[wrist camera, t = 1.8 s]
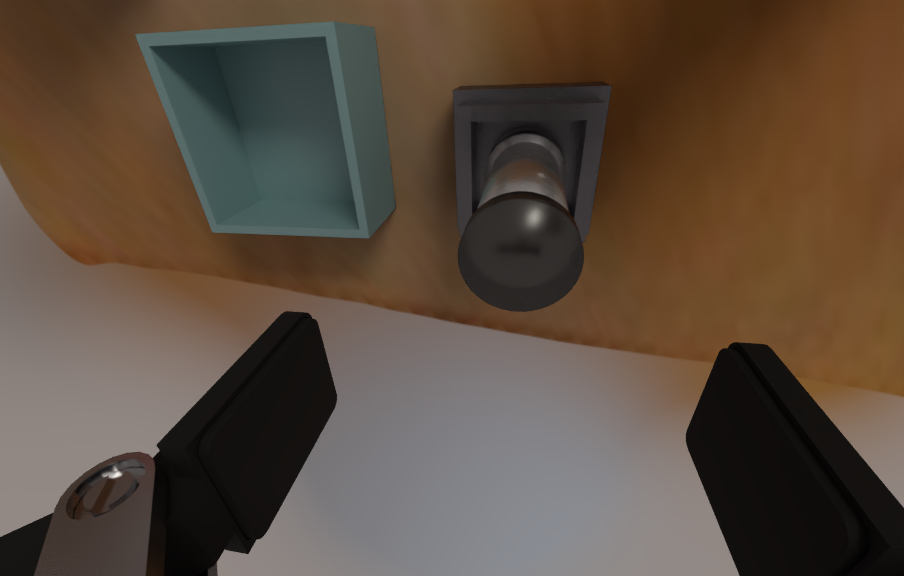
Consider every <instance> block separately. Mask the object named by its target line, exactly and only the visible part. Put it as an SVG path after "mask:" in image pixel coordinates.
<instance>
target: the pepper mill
mask: <svg viewBox="0 0 904 576" xmlns="http://www.w3.org/2000/svg"><path fill="white" fill-rule="evenodd" d="M483 178H484V186H485V188H484V191H483V194H482V197H481V200H480V203H479V206H478V209H477V210H476V211H475V212H474V213H473V215H472V216H471V217H470V219H469V221H468V223H467V225H466V227H465V230H464V232H463V235H462V238H461V240H460V243H459V249H458V264H459V268H460V272H461V274H462V277H463V279H464V281H465V282H466V284H467V286H468V287H469V288H470V289H471V291H472V292H473V293H474V294H475V295H477V296H478V297H479V298H480V299H482V300H483V301H485V302H486V303H488V304H490V305H492V306H495V307H497V308H500V309H504V310H508V311H522V312H524V311H533V310H538V309H541V308H544V307H547V306H549V305H551V304H553V303H555V302H557V301H558V300H560V299H561V298H563V297H564V296H565V295H566V294H567V293H568V292H569V291H570V290H571V289H572V288H573V286H574V285H575V284H576V282H577V280H578V278H579V276H580V274H581V271H582V267H583V261H584V251H583V245H582V241H581V237H580V233H579V229H578V227H577V224H576V222H575V220H574V219H573V217H572V215H571V214H570V213H569V211H568V206H567V202H566V197H565V193H564V187H565V184H566V179H567V168H566V163H565V159H564V156H563V153H562V150H561V147H560V146H559V144H558V142H557V141H556V140H555V139H554V138H553V137H552V136H551V135H550V134H549V133H547V132H545V131H544V130H541V129H538V128H534V127H522V128H517V129H514V130H512V131H510V132H508V133H506V134H505V135H503V136H502V137H501V138H500V139H499V140H498V141H497V142H496V143H495V145H494V146H493V148H492V150H491V152H490V155H489V157H488V159H487V162H486V165H485V169H484V176H483Z"/></svg>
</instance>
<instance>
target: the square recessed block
mask: <svg viewBox="0 0 904 576" xmlns="http://www.w3.org/2000/svg"><path fill="white" fill-rule="evenodd" d="M611 87H612V86H611V85H609V84H607V83H605V82H583V83H550V84H518V85H486V86H460V87H458V88H456V89H454V90H453V107H454V137H455V166H456V196H457V225H458V231H460V237H462V235H463V232H464V230H465V227H466V225H467V223H468V221H469V219H470V217H471V216H472V215H473V213H474V212H475V211H476V210H477V209H478V206H479V203H480V200H481V197H482V194H483V191H484V188H485V186H484V178H483V176H484V169H485V165H486V162H487V159H488V157H489V155H490V152H491V150H492V148H493V146H494V145H495V143H496V142H497V141H498V140H499V139H500V138H501V137H502V136H503V135H505V134H506V133H508V132H510V131H512V130H514V129H517V128H522V127H534V128H538V129H541V130H544V131H545V132H547V133H549V134H550V135H551V136H552V137H553V138H554V139H555V140H556V141H557V142H558V144H559V146H560V147H561V150H562V153H563V156H564V159H565V163H566V168H567V179H566V184H565V187H564V193H565V197H566V202H567V206H568V211H569V213H570V214H571V215H572V217H573V219H574V220H575V222H576V224H577V227H578V229H579V233H580V237H581V241H582V242H585V235H588V234H589V227H590V221H591V215H592V208H593V202H594V195H595V189H596V183H597V176H598V170H599V164H600V157H601V151H602V144H603V138H604V132H605V125H606V119H607V113H608V106H609V100H610V94H611Z"/></svg>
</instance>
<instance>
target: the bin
mask: <svg viewBox="0 0 904 576" xmlns="http://www.w3.org/2000/svg"><path fill="white" fill-rule="evenodd" d="M135 35H136V38H137V41H138V43H139V46H140V48H141V51H142V53H143V56H144V58H145V61H146V64H147V66H148V69H149V71H150V74H151V76H152V79H153V81H154V84H155V87H156V89H157V92H158V94H159V97H160V99H161V102H162V105H163V107H164V110H165V112H166V115H167V117H168V120H169V122H170V125H171V128H172V130H173V133H174V135H175V138H176V140H177V143H178V145H179V148H180V151H181V153H182V156H183V158H184V161H185V163H186V166H187V168H188V171H189V174H190V176H191V179H192V181H193V184H194V186H195V189H196V191H197V194H198V197H199V199H200V202H201V204H202V207H203V209H204V212H205V215H206V217H207V220H208V222H209V225H210V227H211V230H212V232H216V233H242V234H268V235H294V236H320V237H346V238H370V237H371V236H372V235H373V234H374V232H375V231H376V230H377V229H378V228H379V227H380V226H381V224H382V223H383V222H384V221H385V220H386V219H387V217H388V216H389V215H390V214H391V213H392V212H393V211H394V209H395V208H396V204H395V196H394V187H393V179H392V171H391V162H390V154H389V145H388V137H387V129H386V120H385V112H384V104H383V95H382V87H381V78H380V70H379V62H378V53H377V45H376V37H375V28H374V27H369V26H362V25H355V24H348V23H340V22H319V23H303V24H288V25H272V26H256V27H240V28H225V29H209V30H193V31H177V32H162V33H146V34H135Z"/></svg>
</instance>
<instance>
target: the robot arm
mask: <svg viewBox="0 0 904 576" xmlns="http://www.w3.org/2000/svg"><path fill="white" fill-rule="evenodd" d="M336 402H337V393H336V390H335V386H334V382H333V378H332V375H331V371H330V367H329V363H328V360H327V356H326V352H325V348H324V344H323V341H322V337H321V333H320V330H319V326H318V323H317V321H316V320H315V319H312V317H311V315H310V314H309V313H304V312H290V311H289V312H288V311H287V312H284V313H282V314H281V315H280V316H279V317H278V318H277V319H276V320H275V321H274V322H273V323H272V324H271V326H270V327H269V328H268V329H267V330H266V331H265V332H264V333H263V334H262V335H261V336H260V337H259V338H258V339H257V340H256V341H255V342H254V343H253V344H252V345H251V347H250V348H248V350H247V351H246V352H245V353H244V354H243V355H242V356H241V357H240V358H239V359H238V360H237V361H236V362H235V363H234V364H233V366H231V367H230V368H229V369H228V370H227V372H226V373H225V374H224V375H223V376H222V377H221V378H220V379H219V380H218V381H217V382H216V383H215V384H214V385H213V386H212V387H211V388H210V389H209V390H208V391H207V393H206V394H205V395H204V396H203V397H202V398H201V399H200V400H199V401H198V402H197V403H196V404H195V405H194V406H193V407H192V408H191V409H190V410H189V411H188V412H187V413H186V415H185V416H184V417H183V418H182V419H181V420H180V421H179V422H178V423H177V424H176V425H175V426H174V427H173V428H172V429H171V430H170V431H169V432H168V433H167V435H165V436H164V438H163V439H162V440H161V441H160V442H159V443H158V444H157V447H158V448H159V450H160V451H159V452H158V453H157V454H156V455H155V457H153V458H152V457H151V456H150V455H148V454H145V453H141V452H132V453H125V454H122V455H119V456H115V457H112V458H110V459H108V460H106V461H104V462H102V463H99V464H98V465H96V466H95V467H93V468H91V469H90V470H88V471H87V472H85V473H84V474H83V475H82V476H81V477H79V478H78V479H77V480H76V481H75V482H74V483H72V484H71V485H70V486H69V488H68V489H67V490H66V491H65V493H64V494H63V495H62V496H61V497H60V499H59V502H58V504H57V505H56V507H55V509H54V513H52V514H50V515H47V516H45V517H43V518H41V519H39V520H36V521H34V522H32V523H30V524H28V525H26V526H23V527H21V528H19V529H17V530H15V531H12V532H10V533H8V534H6V535H4V536H2V537H0V576H217V561H218V559H219V558H220V556H221V554H222V553H223V551H224V549H225V550H229V551H234V552H240V553H246V554H249V552H250V550H251V548H252V546H253V545H254V543H255V541H256V539H260V538H262V537H263V536H264V535H265V533H266V532H267V531H268V529H269V527H270V525H271V523H272V521H273V520H274V518H275V516H276V514H277V512H278V511H279V509H280V507H281V505H282V503H283V501H284V499H285V498H286V496H287V494H288V492H289V491H290V489H291V487H292V485H293V483H294V481H295V480H296V478H297V476H298V474H299V472H300V470H301V469H302V467H303V465H304V463H305V461H306V460H307V458H308V456H309V454H310V452H311V450H312V449H313V447H314V445H315V443H316V441H317V439H318V438H319V436H320V434H321V432H322V430H323V429H324V427H325V425H326V423H327V421H328V419H329V418H330V416H331V414H332V412H333V410H334V408H335V405H336ZM686 443H687V447H688V450H689V453H690V455H691V457H692V460H693V462H694V465H695V467H696V470H697V472H698V475H699V477H700V479H701V482H702V484H703V486H704V489H705V491H706V494H707V496H708V499H709V502H710V504H711V506H712V509H713V511H714V514H715V516H716V519H717V521H718V524H719V526H720V529H721V531H722V534H723V536H724V538H725V541H726V543H727V546H728V548H729V551H730V553H731V555H732V558H733V560H734V563H735V565H736V568H737V570H738V572H739V575H740V576H904V508H903V506H902V505H901V504H900V503H899V502H898V500H897V499H896V498H895V497H894V496H893V494H892V493H891V492H890V491H889V490H888V488H887V487H886V486H885V485H884V484H883V482H882V481H881V480H880V479H879V478H878V476H877V475H876V474H875V473H874V472H873V470H872V469H871V468H870V467H869V466H868V464H867V463H866V462H865V461H864V460H863V458H862V457H861V456H860V455H859V454H858V453H857V451H856V450H855V449H854V448H853V446H852V445H851V444H850V443H849V442H848V440H847V439H846V438H845V437H844V436H843V434H842V433H841V432H840V431H839V430H838V428H837V427H836V426H835V425H834V424H833V422H832V421H831V420H830V419H829V418H828V416H827V415H826V414H825V413H824V411H823V410H822V409H821V408H820V407H819V406H818V404H817V403H816V402H815V401H814V400H813V398H812V397H811V396H810V395H809V393H808V392H807V391H806V390H805V389H804V387H803V386H802V385H801V384H800V383H799V382H798V380H797V379H796V378H795V377H794V375H793V374H792V373H791V372H790V371H789V369H788V368H787V367H786V366H785V365H784V363H783V362H782V361H781V360H780V359H779V357H778V356H777V355H776V354H775V353H774V351H773V350H772V349H771V348H770V347H769V346H767V345H764V344H753V343H738V342H735V343H732V344H730V345H729V347H728V348H724V349H722V350H720V352H719V353H718V356H717V358H716V361H715V363H714V366H713V369H712V370H711V373H710V375H709V378H708V380H707V383H706V385H705V388H704V390H703V392H702V395H701V397H700V400H699V402H698V405H697V408H696V410H695V412H694V414H693V417H692V420H691V422H690V424H689V427H688V429H687V433H686Z"/></svg>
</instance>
